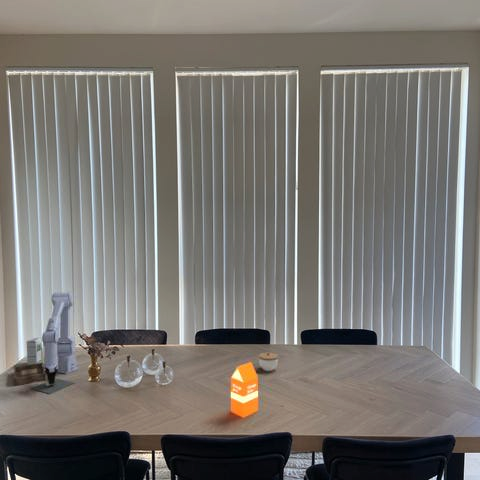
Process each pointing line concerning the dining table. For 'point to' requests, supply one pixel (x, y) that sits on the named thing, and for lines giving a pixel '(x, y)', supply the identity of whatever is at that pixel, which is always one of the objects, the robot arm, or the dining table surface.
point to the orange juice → (244, 390)
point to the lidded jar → (268, 361)
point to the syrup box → (34, 351)
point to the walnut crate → (29, 374)
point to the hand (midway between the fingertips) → (51, 381)
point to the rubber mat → (52, 386)
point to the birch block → (48, 381)
